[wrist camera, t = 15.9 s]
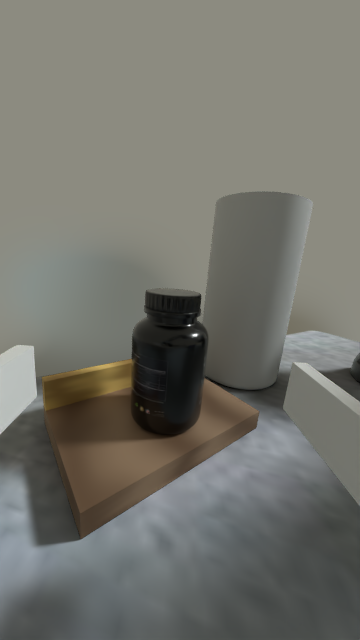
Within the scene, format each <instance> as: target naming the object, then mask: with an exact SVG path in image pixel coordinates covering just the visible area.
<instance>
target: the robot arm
mask: <svg viewBox="0 0 360 640" xmlns="http://www.w3.org/2000/svg"><path fill="white" fill-rule="evenodd" d="M351 375H352V376H353V377H354V378H355V379H356V380H357V381H359V382H360V353H359V354H358V355H357V357H356V358H355V359H354V361H353V365H352V368H351ZM36 397H37V390H36V375H35V360H34V347H33V346H23V345H17V346H15V347H13V348H11V349H9V350H7V351H6V352H4V353H2V354H0V434H1V433H2V432H3V431H4V430H5V429H6V428H7V427H8V426H9V425H10V424H11V423H12V422H13V421H14V420H15V419H16V418H17V417H18V416H19V415H20V413H21V412H22V411H23V410H24V409H25V408H26V407H27V406H28V405H29V404H30V403H31V402H32V401H33V400H34V399H35V398H36ZM283 409H284V410H285V412H286V413H287V414H288V416H289V417H290V418H291V419H292V421H293V422H294V423H295V424H296V426H297V427H298V428H299V430H300V431H301V432H302V433H303V435H304V436H305V437H306V438H307V440H308V441H309V442H310V444H311V445H312V446H313V447H314V449H315V450H316V451H317V452H318V454H319V455H320V456H321V458H322V459H323V460H324V461H325V463H326V464H327V465H328V466H329V468H330V469H331V470H332V472H333V473H334V474H335V475H336V477H337V478H338V479H339V481H340V482H341V483H342V484H343V486H344V487H345V488H346V489H347V491H348V492H349V493H350V495H351V496H352V497H353V498H354V500H355V501H356V502H357V503H358V505H359V506H360V402H359V401H358V400H357V399H355V398H354V397H352V396H351V395H350V394H348V393H347V392H346V391H344V390H343V389H342V388H340V387H339V386H337V385H336V384H335V383H333V382H332V381H331V380H329V379H328V378H326V377H325V376H324V375H322V374H321V373H320V372H318V371H317V370H315V369H314V368H313V367H311V366H310V365H309V364H307V363H297V362H293V364H292V368H291V373H290V377H289V382H288V386H287V391H286V396H285V400H284V405H283Z"/></svg>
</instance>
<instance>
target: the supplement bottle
mask: <svg viewBox="0 0 360 640" xmlns="http://www.w3.org/2000/svg"><path fill="white" fill-rule="evenodd" d="M200 304H201V294H200V293H197V292H194V291H188V290H181V289H168V288H157V289H148V290H146V294H145V306H144V312H145V313H147V317H145V318H144V319H142V320H141V321H139V322H138V323H137V324H136V326H135V327H134V329H133V334H132V366H131V414H132V417H133V419H134V421H135V422H136V423H137V424H138V425H139V426H140V427H141V428H142V429H144V430H146V431H148V432H151V433H154V434H158V435H175V434H179V433H182V432H185V431H187V430H189V429H190V428H191V427H193V426H194V425H195V424H196V422H197V421H198V419H199V417H200V412H201V405H202V396H203V387H204V378H205V369H206V359H207V350H208V339H209V336H208V332H207V330H206V328H205V327H204V326H203V324H201V323H200V322H199V321H197V317H198V316H200V313H201V309H200Z"/></svg>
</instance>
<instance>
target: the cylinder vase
mask: <svg viewBox="0 0 360 640" xmlns="http://www.w3.org/2000/svg"><path fill="white" fill-rule="evenodd" d="M312 207H313V203H312V201H311V200H309V199H307V198H305V197H302V196H299V195H295V194H289V193H281V192H245V193H238V194H232V195H228V196H225V197H222V198H220V199H219V200H217V202H216V209H215V217H214V226H213V235H212V244H211V252H210V262H209V270H208V279H207V287H206V296H205V305H204V314H203V323H202V324H203V326H204V327H205V328H206V330H207V332H208V336H209V339H208V350H207V359H206V369H205V375H206V376H207V377H208V378H210V379H211V380H213V381H215V382H217V383H220V384H222V385H225V386H228V387H232V388H237V389H245V390H257V389H263V388H266V387H269V386H271V385H272V384H273V383H274V382H275V381H276V379H277V376H278V371H279V366H280V361H281V357H282V352H283V347H284V342H285V337H286V331H287V328H288V323H289V318H290V313H291V308H292V303H293V298H294V293H295V289H296V284H297V279H298V274H299V269H300V264H301V260H302V255H303V250H304V245H305V240H306V236H307V230H308V226H309V221H310V216H311V211H312Z"/></svg>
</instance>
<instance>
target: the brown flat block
mask: <svg viewBox="0 0 360 640" xmlns="http://www.w3.org/2000/svg"><path fill="white" fill-rule="evenodd" d="M131 366H132V359H129V360H123V361H119V362H113V363H109V364H104V365H99V366H94V367H89V368H84V369H79V370H74V371H69V372H64V373H59V374H54V375H50V376H45V377H42V386H43V402H44V418H45V425H46V429H47V432H48V435H49V438H50V442H51V445H52V448H53V451H54V455H55V458H56V461H57V464H58V468H59V471H60V474H61V477H62V480H63V484H64V487H65V490H66V493H67V497H68V500H69V503H70V506H71V510H72V513H73V516H74V519H75V523H76V526H77V529H78V532H79V535H80V539H82V538H83V537H85V536H87V535H88V534H90V533H91V532H93V531H95V530H96V529H98V528H99V527H101V526H102V525H104V524H106V523H107V522H109V521H110V520H112V519H113V518H115V517H117V516H118V515H120V514H121V513H123V512H124V511H126V510H128V509H129V508H131V507H132V506H134V505H135V504H137V503H139V502H140V501H142V500H143V499H145V498H146V497H148V496H150V495H151V494H153V493H154V492H156V491H157V490H159V489H161V488H162V487H164V486H165V485H167V484H168V483H170V482H172V481H173V480H175V479H176V478H178V477H180V476H181V475H183V474H184V473H186V472H187V471H189V470H191V469H192V468H194V467H195V466H197V465H198V464H200V463H202V462H203V461H205V460H206V459H208V458H209V457H211V456H213V455H214V454H216V453H217V452H219V451H220V450H222V449H224V448H225V447H227V446H228V445H230V444H231V443H233V442H235V441H236V440H238V439H239V438H241V437H242V436H244V435H246V434H247V433H249V432H250V431H252V430H253V429H255V428H256V427H257V421H258V416H259V411H258V410H256V409H255V408H253V407H251V406H250V405H248V404H246V403H245V402H243V401H242V400H240V399H238V398H237V397H235V396H233V395H232V394H230V393H229V392H227V391H225V390H224V389H222V388H220V387H219V386H217V385H216V384H214V383H212V382H211V381H209V380H208V379H206V378H204V387H203V396H202V405H201V412H200V417H199V419H198V421H197V422H196V424H195V425H194V426H193V427H191V428H190V429H189V430H187V431H185V432H182V433H179V434H175V435H158V434H154V433H151V432H148V431H146V430H144V429H142V428H141V427H140V426H139V425H138V424H137V423H136V422H135V421H134V419H133V417H132V414H131Z"/></svg>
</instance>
